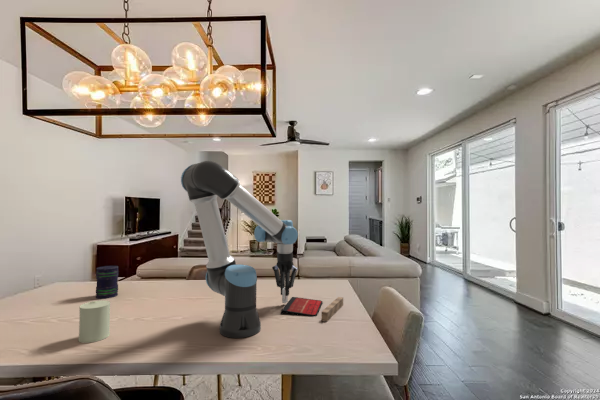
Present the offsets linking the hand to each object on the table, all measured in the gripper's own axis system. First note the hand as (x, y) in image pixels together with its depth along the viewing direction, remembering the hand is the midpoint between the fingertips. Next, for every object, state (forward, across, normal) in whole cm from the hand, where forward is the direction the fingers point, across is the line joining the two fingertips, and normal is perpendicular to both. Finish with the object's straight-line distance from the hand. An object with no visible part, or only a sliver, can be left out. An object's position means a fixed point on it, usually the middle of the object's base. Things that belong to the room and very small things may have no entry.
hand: (284, 302), depth 143 cm
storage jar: (+1, +91, +25) cm, 94 cm away
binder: (+2, -10, 0) cm, 10 cm away
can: (+1, +45, +60) cm, 75 cm away
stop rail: (+1, -24, 0) cm, 24 cm away
